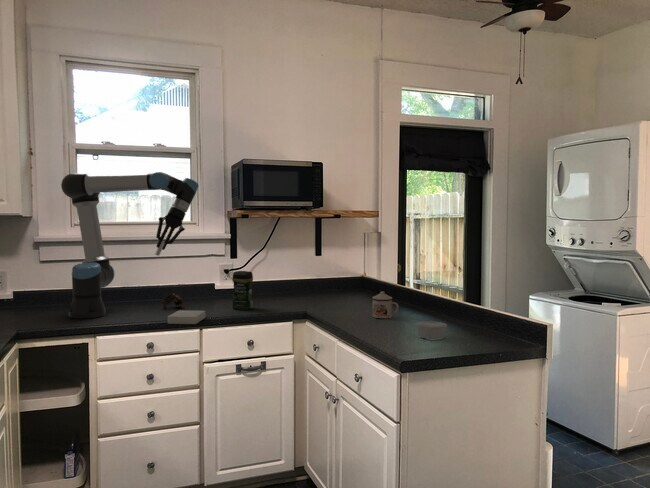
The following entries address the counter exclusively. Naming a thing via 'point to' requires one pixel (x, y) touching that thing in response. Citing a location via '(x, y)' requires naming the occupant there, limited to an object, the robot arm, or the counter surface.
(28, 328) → the counter surface
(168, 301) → the dark brown irregular piece
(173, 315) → the picture frame
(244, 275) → the coffee jar
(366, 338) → the counter surface
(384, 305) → the teacup with lid
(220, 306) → the counter surface
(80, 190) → the robot arm
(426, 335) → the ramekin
